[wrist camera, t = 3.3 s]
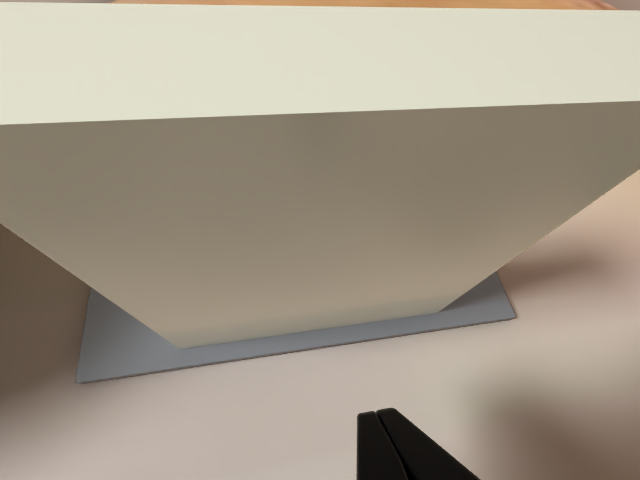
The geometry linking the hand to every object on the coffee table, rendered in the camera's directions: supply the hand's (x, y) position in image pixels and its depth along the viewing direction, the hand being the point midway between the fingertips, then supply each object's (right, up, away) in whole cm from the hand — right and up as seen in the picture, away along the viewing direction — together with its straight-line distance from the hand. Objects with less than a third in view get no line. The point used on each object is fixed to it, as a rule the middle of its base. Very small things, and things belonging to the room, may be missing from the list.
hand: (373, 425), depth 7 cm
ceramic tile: (-2, +1, +9) cm, 9 cm away
